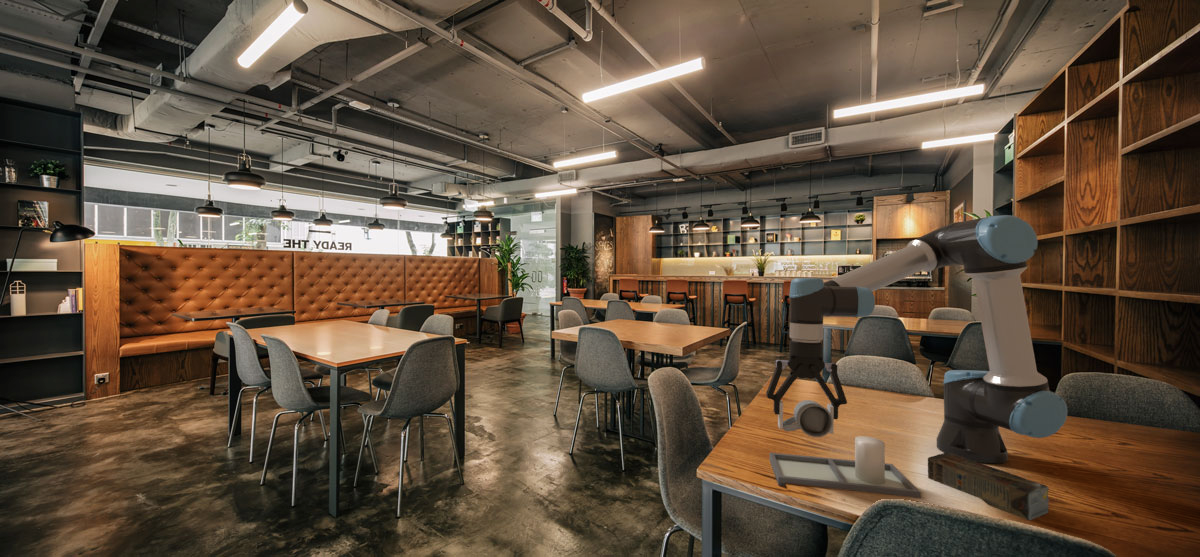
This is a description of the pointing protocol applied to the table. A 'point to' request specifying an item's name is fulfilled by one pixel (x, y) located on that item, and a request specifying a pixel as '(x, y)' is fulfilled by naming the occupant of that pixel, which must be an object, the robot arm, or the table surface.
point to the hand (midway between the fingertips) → (804, 429)
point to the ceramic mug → (810, 419)
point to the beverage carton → (990, 485)
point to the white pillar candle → (870, 460)
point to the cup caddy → (836, 475)
